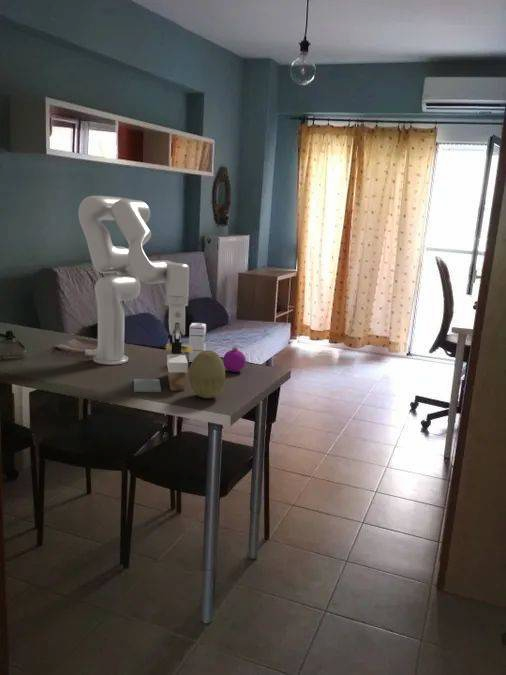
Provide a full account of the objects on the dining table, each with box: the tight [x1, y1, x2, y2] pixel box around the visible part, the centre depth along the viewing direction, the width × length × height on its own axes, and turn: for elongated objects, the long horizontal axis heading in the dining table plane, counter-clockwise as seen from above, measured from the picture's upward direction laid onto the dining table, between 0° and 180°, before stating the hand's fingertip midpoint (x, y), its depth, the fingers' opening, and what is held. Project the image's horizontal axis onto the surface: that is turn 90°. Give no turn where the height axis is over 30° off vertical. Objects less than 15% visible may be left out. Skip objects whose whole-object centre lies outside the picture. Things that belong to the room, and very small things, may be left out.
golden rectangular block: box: [165, 342, 193, 355], centre depth 201 cm, size 2×9×6 cm, turn 79°
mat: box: [133, 378, 162, 393], centre depth 192 cm, size 8×12×1 cm
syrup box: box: [188, 322, 207, 363], centre depth 225 cm, size 6×6×14 cm
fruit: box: [188, 349, 226, 399], centre depth 183 cm, size 11×11×15 cm
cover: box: [166, 354, 189, 373], centre depth 192 cm, size 6×10×3 cm, turn 11°
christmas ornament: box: [222, 346, 246, 373], centre depth 214 cm, size 8×8×10 cm
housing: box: [167, 371, 186, 391], centre depth 197 cm, size 4×18×6 cm, turn 11°
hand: (175, 350), depth 201 cm, fingers open, 9 cm apart
